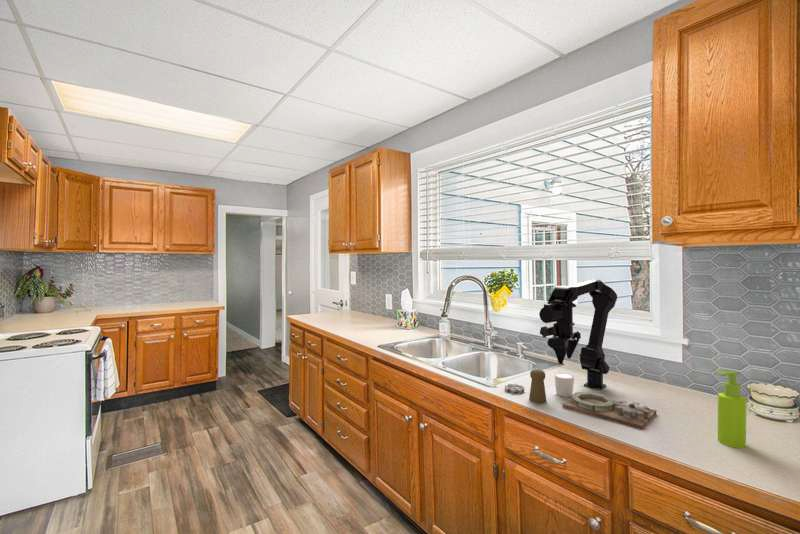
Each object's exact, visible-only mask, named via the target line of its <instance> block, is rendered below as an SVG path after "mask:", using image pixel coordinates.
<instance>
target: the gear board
mask: <svg viewBox="0 0 800 534" xmlns="http://www.w3.org/2000/svg"><path fill="white" fill-rule="evenodd" d="M640 404H641V403H639V402H634V401H632V402H628V401H626V400H621V401H619V400H617V399H616V400H615V399H613V398H611V397H610V396H608V395H606V394H602V393H597V392H591V391H577V392H574V393H572V395H571V396H570V398H569V399H568V400H566V401H565V402H563V403H562V408H564V409H567V410H571V411H575V412H578V413H580V414H581V413H582V414H585V415H587V416H588V415H589V416H593V417H597V418H600V419H603V420H606V421H610V422H614V423H616V424H621V425H624V426H628V427H632V428H634V429H635V428H636V429H639V430H641V431H642V430H644V429H645V427H647V426H648V425H649V423H650V422H651V421H652V420H653V419H654V417H656V416H657V409H656V410H655V409H651V408H650V407H648V406H647V405H640Z"/></svg>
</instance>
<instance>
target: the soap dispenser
mask: <svg viewBox="0 0 800 534" xmlns="http://www.w3.org/2000/svg"><path fill="white" fill-rule="evenodd" d="M716 375H720V376H723V377H725V376H727V381H724V383H723V392H719V393H718V395H717V441H718V442H719V443H720V444H722V445H724V444H725V446H727V447H731V448H736V449H744V448H746V446H747V397H745V396H743V395H741V384H740V383H738V382H737V376H741V372H739V371H736V370H727V369H726V370H719V371H716Z"/></svg>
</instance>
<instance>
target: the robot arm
mask: <svg viewBox="0 0 800 534" xmlns="http://www.w3.org/2000/svg"><path fill="white" fill-rule="evenodd" d="M585 294H589V296H590V297H591V299H592V301H591V303H592V305H593V308H594V311H593V312H594V313H593V318H592V324H591V328H590V333H589V337H588V338H589V339H588V343H587V345H586V346H582V347H581V349H580V353H579V362H580V366H581V369H582V370H586V382H585V383H584V384H583V387H588V388H590V389H591V388H592V389H596V390H599V391H600V390H603V389H604V388H605V387H607V384H605V383H604V375H608V373H609V372H610V366H609V364H608V363H607V362H606V360H605V359H606V354H605V352H604V349H603V343H604V337H605V334H606V333H605V332H606V327H607V323H608V318H609V317H608V316H609V314H610V311H612V309H614V307H615V306H616V302H617V301H618V294H617V293H616V291H615V290H613V288H612V287H610V286H608V285H607V284H605V283H604V282H603V281H602V280H600V279H588V280H586V281H583V282H579V283H576V284H572V285H556V286H555V287H554V288H553V290H552V292H551V294H550V296H549V298H548V300H547V303H544V304H543V307H542V308H541V309H540V311H539V314H538V316H539V319H540V321H542V322H543V323H545V324H550V323H553V325H551V326H547V325H544V326H541V327H540V330H539V335H541V337H542V338H544V339H545V338H546V337H549V338H548V339H547V346H548V347H549V348H550V349H551V350H553V351H554V353H555V356H556V359H557V362H558V364H559V365H563V363H564V360H565V358H567V359H569V360H570V359H571V358H572V356H573V354H574V352H575V350H576V347H577V346H578V344H579V342H580V339H581V338H582V337H581V336H582V334H581V333H580V331H578V330H574V329H573V327H574V326H575V322H574V320H573V318H574V315H573V311H574V310H573V308H577V305H576V303H574V302H575V301H576V300H578V297H580V296H582V295H585ZM550 336H551V337H550Z"/></svg>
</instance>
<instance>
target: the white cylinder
mask: <svg viewBox="0 0 800 534" xmlns="http://www.w3.org/2000/svg"><path fill="white" fill-rule="evenodd" d="M554 383H555V385H554V386H555V394H556V395H557V396H560V397H565V398H566V397H567V398H568V397H569V398H571V395H573V394H574V393H573V392H574V383H575V376H574V375H572V374H569V373H563V372H558V373H555V374H554Z"/></svg>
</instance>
